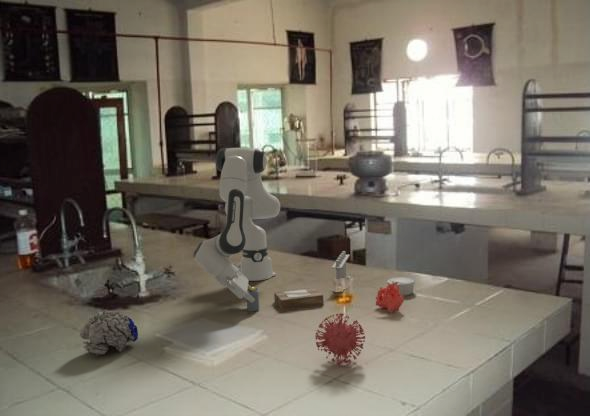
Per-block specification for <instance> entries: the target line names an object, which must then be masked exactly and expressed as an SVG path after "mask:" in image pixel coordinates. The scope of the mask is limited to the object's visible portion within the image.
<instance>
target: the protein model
mask: <svg viewBox="0 0 590 416" xmlns="http://www.w3.org/2000/svg"><path fill="white" fill-rule="evenodd" d="M397 283H398V282H395V283H394V282H392V284H390V285H388V284H387V285H386V286H385V287H379V290H378V291H377V294H376V297H375V299H376V300H375V306H378V307H379V308H381V309H387V312H388V313H390V314H392V312H393V311H399V309H400V308H401V306H402V305H403V304H404V301H405V299H404V296H402V295H401V294H400V293H399V289H400V287H399V285H397V288H396V287H395V285H396V284H397ZM389 288H390V289H389Z"/></svg>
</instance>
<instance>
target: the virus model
mask: <svg viewBox="0 0 590 416" xmlns="http://www.w3.org/2000/svg"><path fill="white" fill-rule="evenodd" d="M344 315H345V313H336V314H331V315H329V316H328V317H325V318H324V319H323V320H322V321H321V323H319V324H318V328H320V329H323V330H324V331H325V332H324V331H321V330H319V329H316V332H315V338H314V339H315V340H319V341H315V345H316V347H317V351H321V352H323V351H324V352H325V353H328V355H327V356H326V357H325V359H328V357H329V355H331V354H333V357H332V359H330V360H331V361H332V362H333V363H335V360H337V362H336V365H342V364H343V363H344V364H348V363H350V362H351V359H350V358H352V357H353V360H357V357H359V356H360V354H361V352H362V350H363V349H364V347H363V346H364V343H365V342H366V335H365V331H364V329H363V327H362V325H361V324H360V323H359V321H358V320H357V319H356V320H353V322H352V324H351V323H350V324H349V325H348V324H347V323H348V322H349V321H348V320H349V319H350V316H348V314H347V315H346V316H344ZM334 316H336V318H335V317H334ZM332 318H333V320H331V319H332ZM343 318H344V320H343ZM328 319H329V320H328ZM324 325H325V326H324ZM361 335H362V336H361ZM320 348H321V349H320ZM359 348H360V349H359ZM353 352H354V353H355V354H353ZM356 356H357V357H356Z"/></svg>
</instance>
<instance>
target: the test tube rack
mask: <svg viewBox="0 0 590 416" xmlns="http://www.w3.org/2000/svg"><path fill="white" fill-rule="evenodd" d="M350 255H351V254H346V251H345V250H343V251H341V253H340V254H339V256H338V257H337V259H336V260H335V262H334V263H333V265H332V266H331V269H335V275H336V276H335V278H336V279H340V278H345V277H349V278H350V277H351V276H350V275H349V276H348V275H347V261H348V259H349V258H350ZM350 279H351V278H350ZM331 292H335V286H334V287H333V289H332V291H331Z"/></svg>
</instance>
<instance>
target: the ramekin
mask: <svg viewBox="0 0 590 416" xmlns="http://www.w3.org/2000/svg"><path fill="white" fill-rule="evenodd" d="M392 282H394V283H395V282H398V283H397V284H396V285H395V287H396V288H397V285H399V287H400V289H399V293H400V294H401V295H402V296H403V297H405V296H409V295H411V294H413V292H414V286H415V280H414V278H411V277H402V276H401V277H399V276H398V277H391V278H389V279H388V280H387V281H386V284H387V286H388V285H390V284H392ZM389 289H390V288H389Z"/></svg>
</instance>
